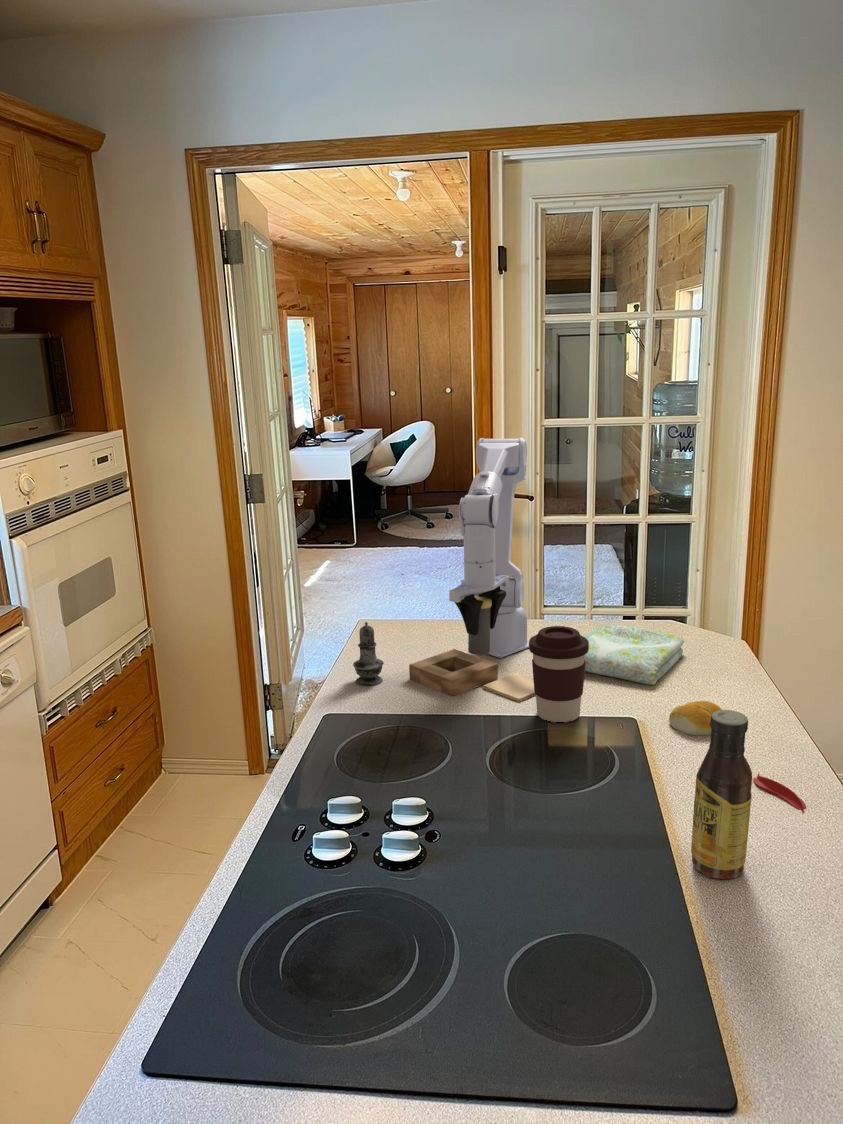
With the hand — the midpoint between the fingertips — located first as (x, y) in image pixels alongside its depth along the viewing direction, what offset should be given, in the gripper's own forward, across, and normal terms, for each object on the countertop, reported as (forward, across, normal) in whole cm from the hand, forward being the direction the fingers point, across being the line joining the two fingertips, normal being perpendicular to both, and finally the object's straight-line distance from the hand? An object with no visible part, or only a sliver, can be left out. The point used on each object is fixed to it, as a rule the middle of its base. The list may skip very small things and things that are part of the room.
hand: (480, 630), depth 159 cm
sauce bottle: (+11, +26, +60) cm, 66 cm away
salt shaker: (+11, +13, -17) cm, 24 cm away
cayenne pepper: (+11, +4, +58) cm, 59 cm away
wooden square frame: (+10, +2, -6) cm, 12 cm away
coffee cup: (+11, +2, +20) cm, 22 cm away
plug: (+4, 0, 0) cm, 4 cm away
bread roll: (+11, -9, +39) cm, 42 cm away
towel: (+11, -27, +14) cm, 33 cm away
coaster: (+10, -2, +7) cm, 13 cm away
